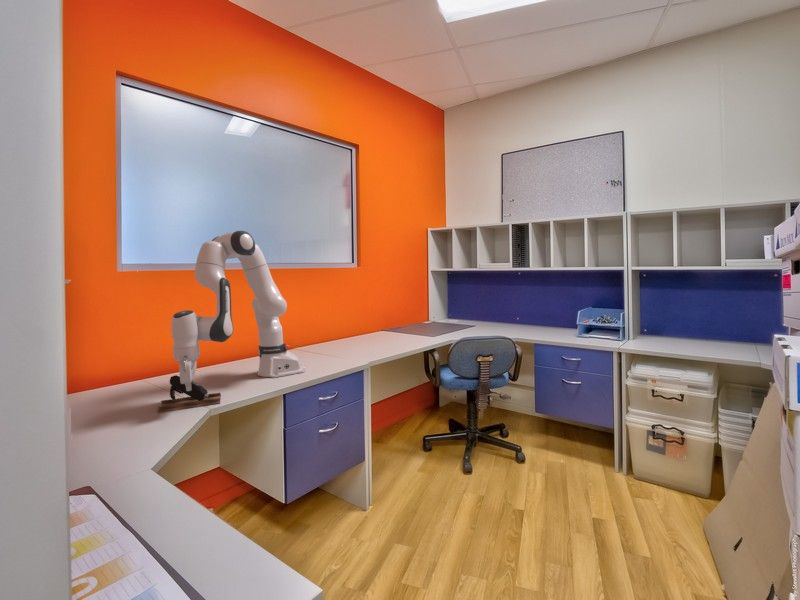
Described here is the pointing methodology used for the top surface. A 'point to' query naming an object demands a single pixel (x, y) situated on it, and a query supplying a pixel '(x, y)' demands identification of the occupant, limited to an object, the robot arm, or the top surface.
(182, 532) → the top surface
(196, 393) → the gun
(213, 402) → the walnut stand
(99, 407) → the top surface
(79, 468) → the top surface
